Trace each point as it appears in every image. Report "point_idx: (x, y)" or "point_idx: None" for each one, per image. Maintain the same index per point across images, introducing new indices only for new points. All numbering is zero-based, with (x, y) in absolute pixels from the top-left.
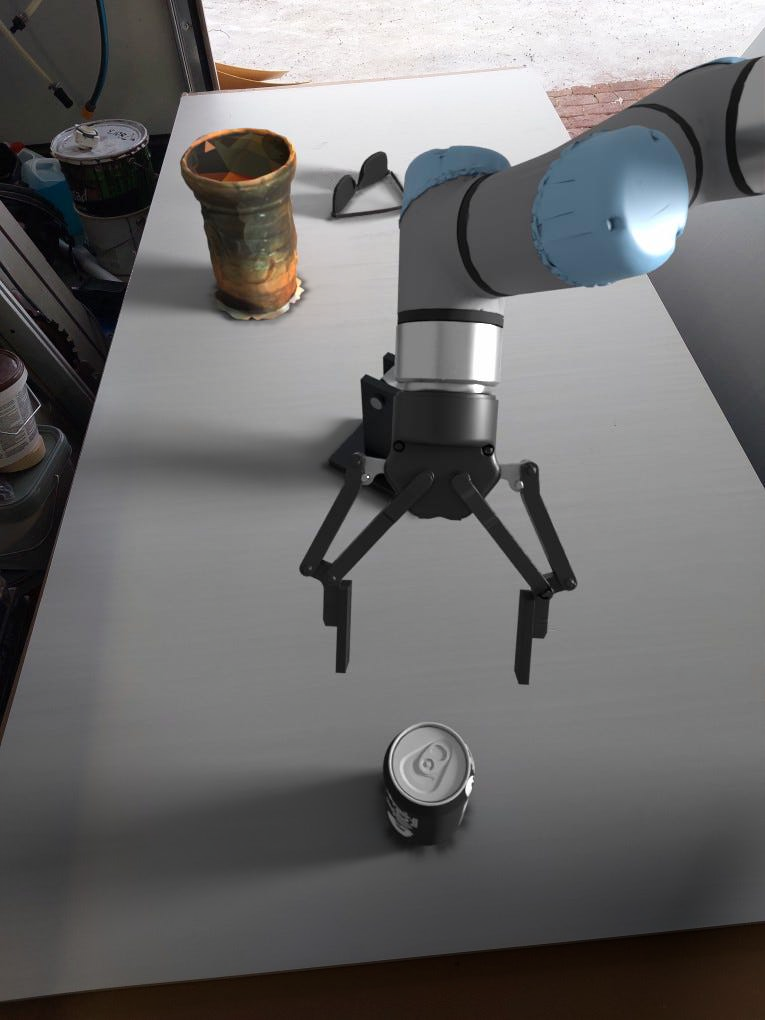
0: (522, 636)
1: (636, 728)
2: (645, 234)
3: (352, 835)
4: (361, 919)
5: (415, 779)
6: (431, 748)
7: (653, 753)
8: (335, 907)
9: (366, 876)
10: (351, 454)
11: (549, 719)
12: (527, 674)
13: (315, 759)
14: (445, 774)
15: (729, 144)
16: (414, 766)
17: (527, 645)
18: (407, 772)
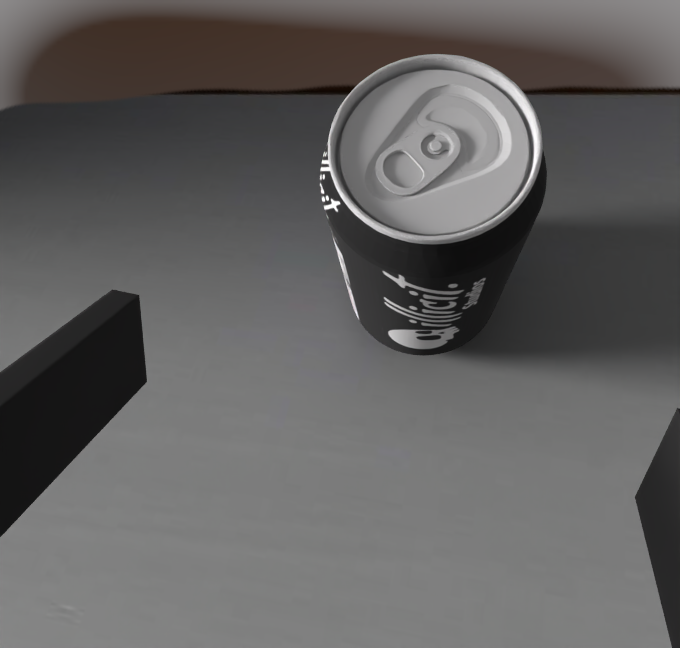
0: (40, 374)
1: None
2: None
3: (559, 258)
4: (549, 143)
5: (473, 119)
6: (420, 182)
7: (4, 320)
8: (592, 161)
9: None
10: None
11: (151, 407)
12: (99, 305)
13: (632, 402)
14: (396, 121)
15: None
16: (471, 149)
17: (43, 351)
18: (491, 136)
